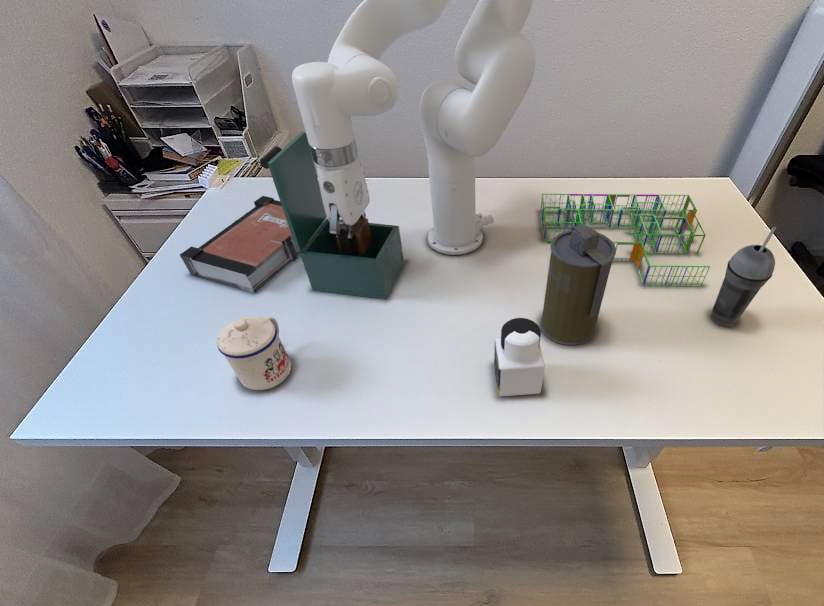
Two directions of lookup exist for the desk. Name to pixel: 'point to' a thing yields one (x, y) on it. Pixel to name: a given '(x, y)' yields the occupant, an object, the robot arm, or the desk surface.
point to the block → (359, 235)
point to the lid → (297, 188)
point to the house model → (638, 247)
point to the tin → (354, 263)
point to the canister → (576, 284)
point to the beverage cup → (743, 282)
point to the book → (246, 249)
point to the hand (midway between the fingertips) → (356, 244)
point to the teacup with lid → (255, 351)
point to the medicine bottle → (519, 358)
